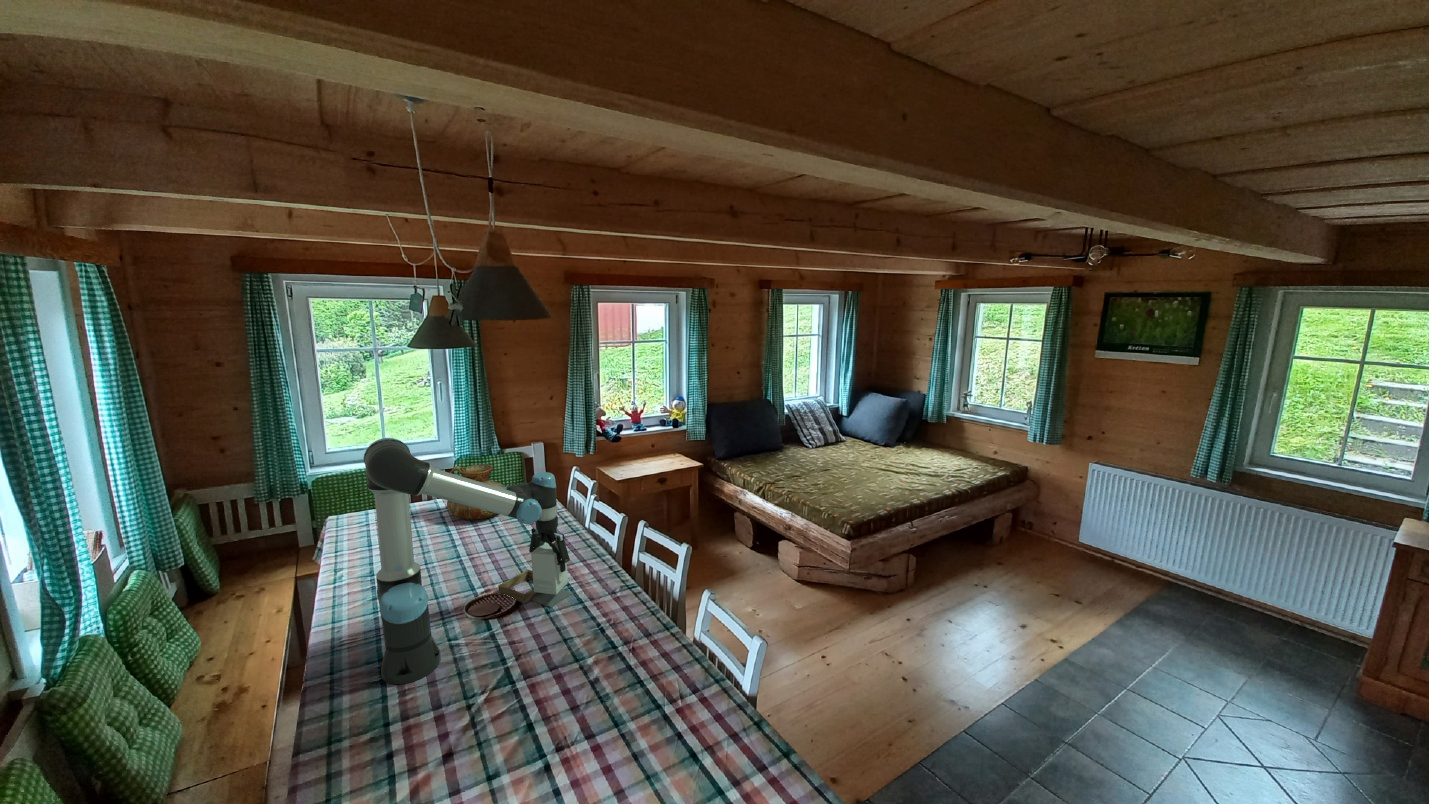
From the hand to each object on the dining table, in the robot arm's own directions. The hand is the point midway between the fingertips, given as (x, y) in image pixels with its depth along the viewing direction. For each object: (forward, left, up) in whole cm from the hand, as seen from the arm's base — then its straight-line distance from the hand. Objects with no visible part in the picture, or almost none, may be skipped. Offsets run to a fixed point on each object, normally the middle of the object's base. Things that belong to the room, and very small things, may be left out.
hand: (550, 575), depth 192 cm
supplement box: (0, 0, -5) cm, 5 cm away
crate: (-1, +12, -8) cm, 15 cm away
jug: (+37, +90, -9) cm, 97 cm away
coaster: (0, 0, -8) cm, 8 cm away
